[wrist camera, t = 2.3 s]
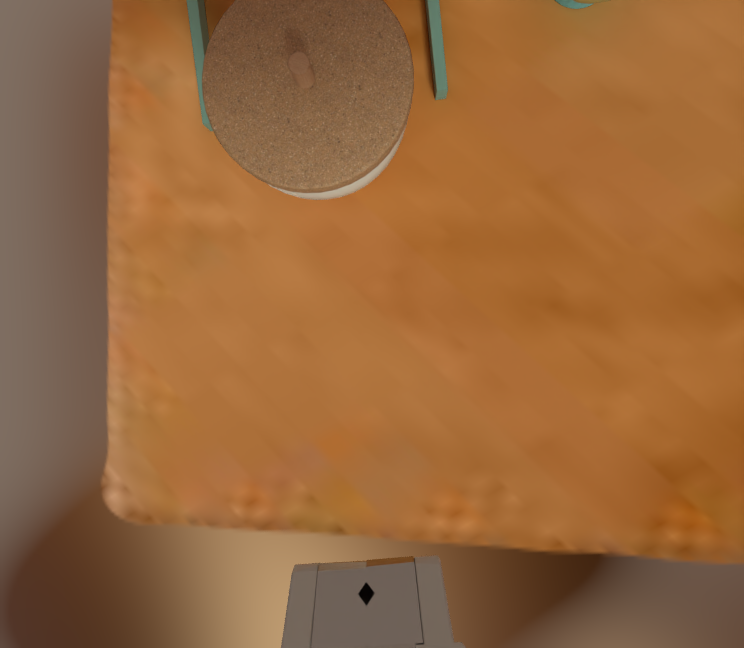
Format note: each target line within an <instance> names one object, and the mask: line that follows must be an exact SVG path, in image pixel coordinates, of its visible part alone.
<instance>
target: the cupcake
mask: <svg viewBox="0 0 744 648" xmlns="http://www.w3.org/2000/svg"><path fill="white" fill-rule="evenodd" d="M555 1H556V2H558V3H559V4H561V5H562V6H565V7H568V8H573V9H579V8H585V7H588V6H590V5H592V4H594V3H598V2H605V1H610V0H555Z"/></svg>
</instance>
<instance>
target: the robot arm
mask: <svg viewBox="0 0 744 648" xmlns="http://www.w3.org/2000/svg"><path fill="white" fill-rule="evenodd" d="M281 648H466V647H465V646H464V645H463V643H462V642H454V639H453V633H452V627H451V621H450V615H449V609H448V603H447V597H446V591H445V585H444V579H443V573H442V567H441V561H440V559H439V556H438V555H431V556H420V557H415V558H414V557H413V556H409V557H398V558H386V559H374V560H367V561H353V562H335V563H312V564H298V565H295V566H294V569H293V572H292V576H291V583H290V590H289V597H288V604H287V611H286V618H285V625H284V632H283V638H282V645H281Z"/></svg>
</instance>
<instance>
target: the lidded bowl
mask: <svg viewBox="0 0 744 648" xmlns="http://www.w3.org/2000/svg"><path fill="white" fill-rule="evenodd" d="M413 89H414V72H413V62H412V56H411V50H410V47H409V44H408V41H407V38H406V35H405V33H404V31H403V29H402V27H401V25H400V23H399V21H398V19H397V18H396V16H395V15H394V14H393V12H392V11H391V9H390V8H389V7H388V5H387V4H386V3H385V2H384V1H383V0H235V1H234V3H233V4H232V5H231V6H230V7H229V8H228V9H227V11H226V12H225V13H224V14H223V16H222V18H221V19H220V21H219V22H218V24H217V26H216V27H215V29H214V32H213V34H212V36H211V39H210V41H209V43H208V46H207V50H206V54H205V58H204V63H203V72H202V91H203V99H204V105H205V110H206V113H207V116H208V119H209V122H210V125H211V127H212V129H213V131H214V133H215V135H216V137H217V139H218V140H219V142H220V144H221V145H222V146H223V148H224V149H225V150H226V151H227V153H228V154H229V155H230V156H231V157H232V158H233V159H234V160H235V161H236V162H237V163H238V164H239V165H240V166H241V167H242V168H243V169H244V170H246V171H247V172H249V173H250V174H252V175H253V176H254V177H256V178H257V179H259V180H261V181H263V182H265V183H267V184H268V185H270V186H271V187H273V188H275V189H277V190H279V191H282V192H284V193H286V194H289V195H293V196H296V197H299V198H304V199H312V200H327V199H334V198H339V197H343V196H346V195H349V194H351V193H354V192H356V191H358V190H360V189H361V188H363V187H365V186H366V185H368V184H369V183H370V182H371V181H373V180H374V179H375V178H376V177H378V176H379V174H380V173H381V172H382V171H383V170H384V169H385V168H386V167H387V166H388V164H389V163H390V161H391V160H392V158H393V157H394V155H395V153H396V151H397V149H398V147H399V145H400V143H401V140H402V138H403V135H404V132H405V128H406V125H407V120H408V115H409V112H410V109H411V103H412V96H413Z"/></svg>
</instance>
